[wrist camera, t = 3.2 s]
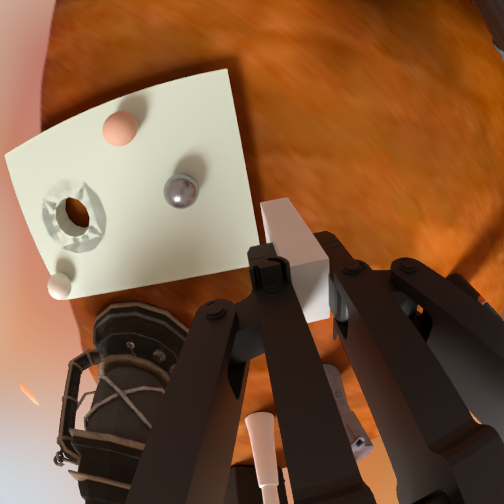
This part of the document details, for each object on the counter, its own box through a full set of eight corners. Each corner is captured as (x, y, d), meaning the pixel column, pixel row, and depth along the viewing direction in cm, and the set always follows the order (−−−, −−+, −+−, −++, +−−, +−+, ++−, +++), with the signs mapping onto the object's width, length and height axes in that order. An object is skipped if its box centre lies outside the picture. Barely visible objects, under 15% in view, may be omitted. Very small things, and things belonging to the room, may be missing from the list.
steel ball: (163, 174, 25) (155, 183, 22) (196, 166, 25) (192, 174, 22) (171, 205, 26) (165, 217, 24) (203, 198, 26) (201, 209, 24)
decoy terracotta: (107, 116, 21) (93, 119, 19) (138, 105, 21) (126, 106, 19) (114, 148, 23) (102, 154, 20) (145, 138, 23) (135, 142, 20)
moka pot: (353, 349, 44) (396, 451, 26) (329, 398, 51) (355, 482, 33) (298, 354, 42) (330, 469, 25) (283, 403, 50) (302, 494, 32)
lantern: (214, 307, 36) (223, 560, 10) (208, 378, 44) (214, 554, 17) (72, 290, 33) (-13, 492, 7) (94, 363, 40) (57, 522, 14)
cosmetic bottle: (252, 426, 54) (263, 515, 35) (239, 416, 51) (249, 513, 32) (278, 418, 53) (294, 510, 34) (267, 408, 50) (283, 508, 31)
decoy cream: (50, 270, 28) (39, 284, 26) (68, 265, 28) (57, 280, 26) (61, 290, 30) (51, 306, 27) (79, 287, 30) (69, 303, 27)
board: (16, 150, 23) (4, 154, 21) (226, 71, 23) (227, 68, 21) (71, 288, 33) (64, 299, 31) (260, 252, 33) (263, 263, 31)
